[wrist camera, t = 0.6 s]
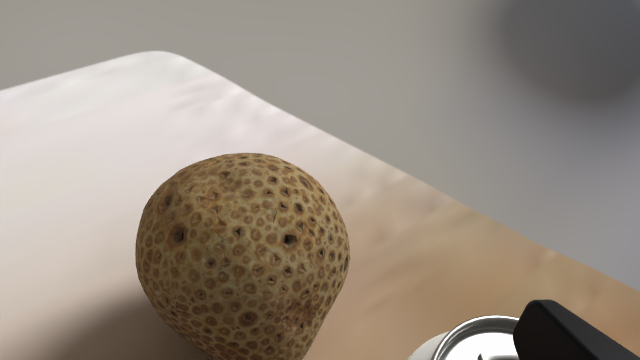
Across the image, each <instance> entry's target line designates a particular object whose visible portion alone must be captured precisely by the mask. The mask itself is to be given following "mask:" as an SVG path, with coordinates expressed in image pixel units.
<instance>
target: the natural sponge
mask: <svg viewBox="0 0 640 360" xmlns="http://www.w3.org/2000/svg"><path fill="white" fill-rule="evenodd" d="M349 261H350V252H349V241H348V235H347V231H346V227H345V224H344V222H343V220H342V217H341V215H340V213H339V211H338V209H337V208H336V205H335V203H334V202H333V200H332V199H331V197H330V196H329V194H328V193H327V192H326V191H325V190H324V188H323V187H322V186H321V185H320V184H319V182H318V181H316V180H315V179H314V178H313V177H312V176H310V175H309V174H308V173H306V172H305V171H303V170H302V169H301V168H299V167H297V166H295V165H293V164H291V163H288V162H286V161H284V160H282V159H280V158H278V157H274V156H270V155H265V154H256V153H237V154H226V155H221V156H217V157H213V158H209V159H206V160H203V161H199V162H197V163H194V164H192V165H190V166H188V167H185V168H183V169H181V170H179V171H178V172H177V173H176V174H175V175H173V176H172V177H171V178H170V179H168V180H167V181H165V182H164V183H163V184H162V185H161V186H160V187H159V188H158V189H157V190H156V191H155V193H154V194H153V195H152V196H151V198H150V199H149V201H148V202H147V204H146V206H145V208H144V210H143V214H142V217H141V220H140V224H139V228H138V233H137V239H136V268H137V273H138V278H139V280H140V283H141V285H142V287H143V290H144V292H145V294H146V295H147V297H148V298H149V300H150V301H151V303H152V305H153V307H154V308H155V310H156V311H157V313H158V314H159V315H160V317H161V318H162V319H163V320H164V321H165V322H166V323H167V324H168V325H169V326H170V327H171V328H172V329H173V330H174V331H175V332H176V333H178V334H179V335H181V336H182V337H184V338H185V339H186V340H188V341H189V342H190V343H191V344H193V345H195V346H196V347H198V348H200V349H201V350H203V351H204V352H206V353H208V354H209V355H211V356H212V357H214V358H215V359H217V360H302V359H303V357H304V356H305V355H306V353H307V351H308V350H309V348H310V346H311V344H312V343H313V341H314V339H315V337H316V335H317V333H318V331H319V329H320V327H321V325H322V323H323V321H324V319H325V317H326V315H327V313H328V312H329V310H330V308H331V306H332V305H333V303H334V302H335V299H336V297H337V296H338V294H339V292H340V291H341V289H342V286H343V284H344V281H345V279H346V276H347V272H348V267H349Z"/></svg>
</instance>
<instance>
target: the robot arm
mask: <svg viewBox="0 0 640 360" xmlns="http://www.w3.org/2000/svg"><path fill="white" fill-rule="evenodd" d="M513 343H514V346H515V349H516V352H517V355H518V358H519V360H640V357H638V356H637V355H635V354H634V353H632V352H631V351H629V350H628V349H626V348H625V347H623V346H622V345H620V344H619V343H617V342H616V341H614V340H613V339H611V338H610V337H608V336H607V335H605V334H604V333H602V332H601V331H599V330H598V329H596V328H595V327H593V326H592V325H590V324H589V323H587V322H586V321H584V320H583V319H581V318H580V317H578V316H577V315H575V314H574V313H572V312H571V311H569V310H568V309H566V308H565V307H563V306H562V305H560V304H559V303H557V302H555V301H553V300H532V301H530V302H529V303H528V304H527V306H526V307H525V309H524V311H523V313H522V315H521V317H520V319H519V320H518V322H517V324H516V326H515V328H514V330H513Z"/></svg>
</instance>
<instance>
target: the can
mask: <svg viewBox="0 0 640 360" xmlns="http://www.w3.org/2000/svg"><path fill="white" fill-rule="evenodd" d="M518 320H519V318H515V317H510V316H501V315H489V316H481V317H476V318H473V319H470V320H467V321H465V322H463V323H461V324H459V325H457V326H456V327H454V328H453V329H452V330H451V331H449V332H446V333H443V334H440V335H438V336H436V337H434V338H432V339H430V340H428V341H427V342H425V343H424V344H423V345H421V346H420V347H419V348H418V349H417V350H416V351H415V352H414V353H413V354H412V355H411V356H410V357H409V358H408V359H407V360H519V358H518V355H517V352H516V349H515V346H514V343H513V330H514V328H515V326H516V324H517V322H518Z"/></svg>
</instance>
